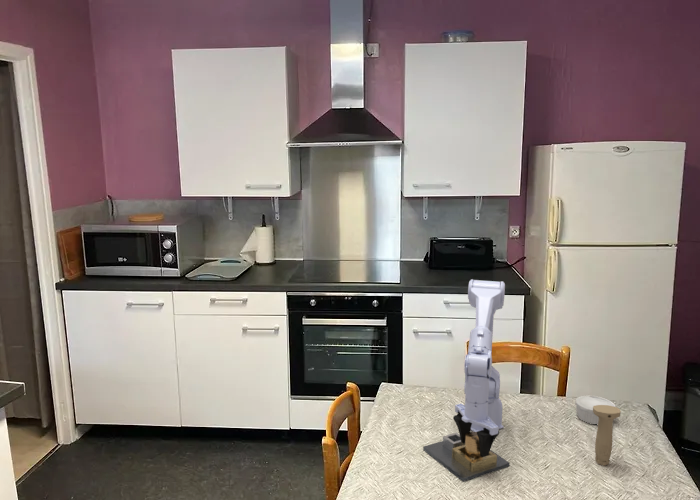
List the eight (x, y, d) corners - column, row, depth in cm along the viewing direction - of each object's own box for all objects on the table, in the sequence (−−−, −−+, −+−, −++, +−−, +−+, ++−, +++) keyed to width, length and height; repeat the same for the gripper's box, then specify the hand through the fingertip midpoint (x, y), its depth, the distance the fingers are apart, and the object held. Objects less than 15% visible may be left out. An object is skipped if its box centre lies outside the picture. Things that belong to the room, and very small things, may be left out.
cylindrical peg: (475, 454, 150) (476, 430, 148) (486, 463, 146) (487, 438, 145) (461, 458, 148) (462, 434, 147) (472, 467, 144) (473, 442, 143)
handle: (618, 469, 145) (623, 414, 142) (592, 467, 146) (596, 412, 143) (611, 458, 150) (616, 405, 147) (586, 457, 151) (590, 404, 148)
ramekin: (617, 416, 174) (618, 400, 173) (611, 431, 165) (612, 414, 164) (578, 407, 180) (579, 392, 179) (570, 421, 171) (572, 405, 170)
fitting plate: (466, 437, 161) (467, 425, 160) (509, 466, 146) (510, 453, 146) (423, 449, 154) (423, 437, 154) (463, 481, 139) (463, 468, 139)
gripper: (446, 391, 148) (444, 439, 151) (483, 414, 136) (481, 466, 138) (467, 386, 152) (465, 433, 154) (505, 408, 139) (503, 459, 141)
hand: (474, 448), depth 146 cm, fingers open, 7 cm apart
